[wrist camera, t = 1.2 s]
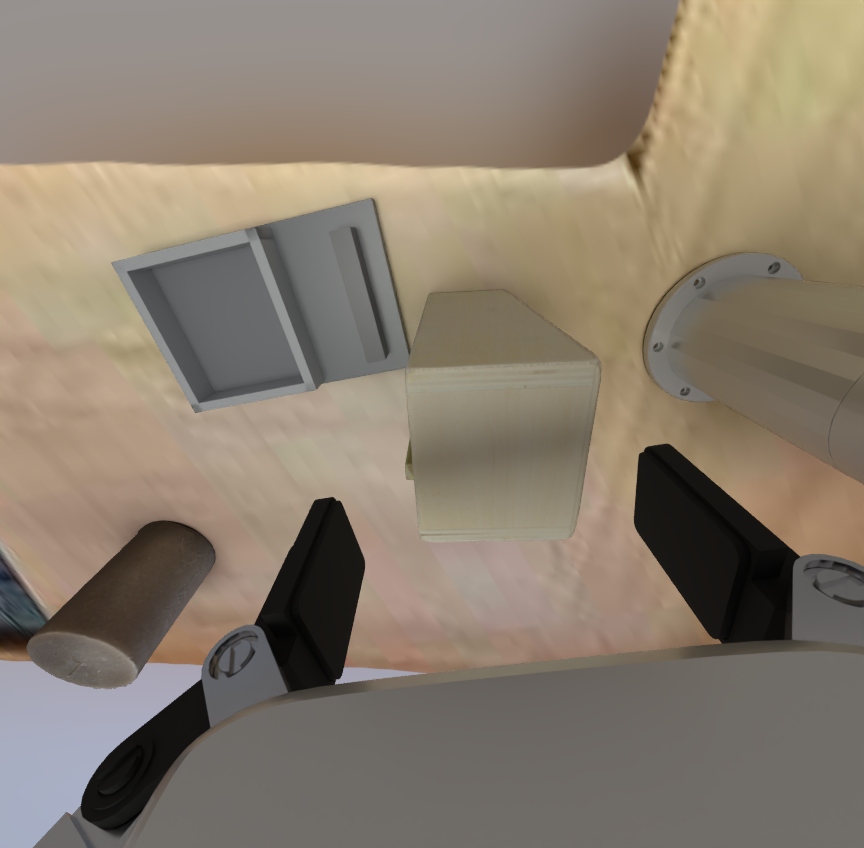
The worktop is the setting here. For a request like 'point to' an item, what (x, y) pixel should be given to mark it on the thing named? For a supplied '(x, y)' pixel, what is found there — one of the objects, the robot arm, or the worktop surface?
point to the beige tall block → (497, 420)
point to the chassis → (272, 307)
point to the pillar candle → (124, 608)
